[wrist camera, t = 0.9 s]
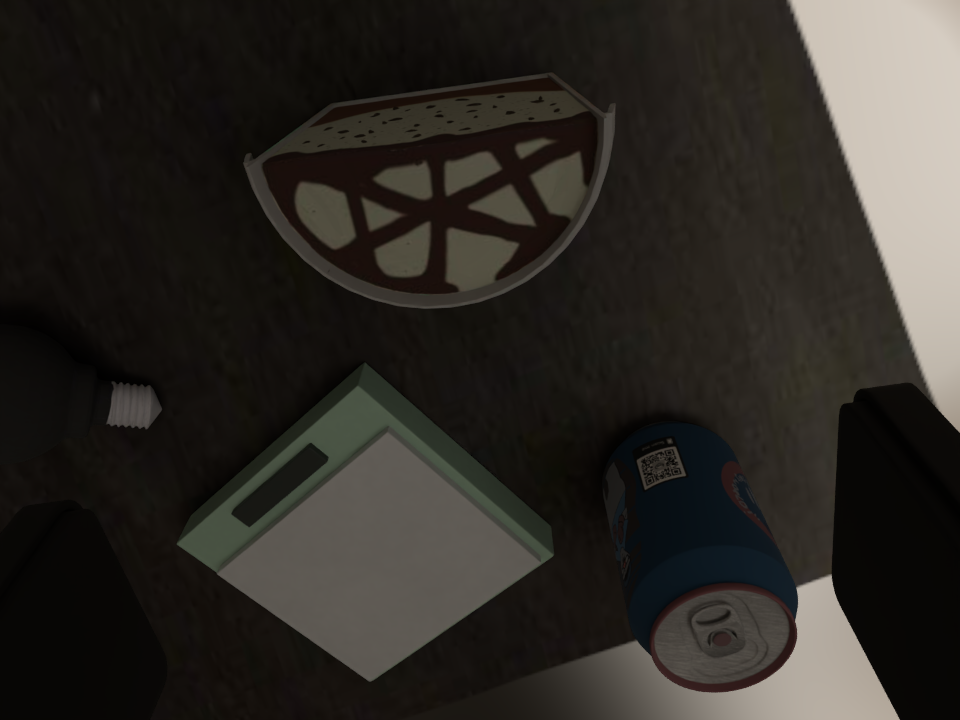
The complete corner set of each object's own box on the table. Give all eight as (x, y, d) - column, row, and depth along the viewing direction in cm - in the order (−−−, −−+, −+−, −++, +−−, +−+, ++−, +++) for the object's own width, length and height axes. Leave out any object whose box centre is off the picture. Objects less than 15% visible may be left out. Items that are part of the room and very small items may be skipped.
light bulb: (155, 497, 38) (-100, 485, 34) (148, 438, 44) (-72, 421, 39) (179, 372, 37) (-86, 343, 32) (168, 327, 42) (-60, 296, 38)
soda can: (747, 493, 43) (831, 675, 33) (624, 534, 45) (666, 721, 34) (710, 390, 40) (789, 554, 30) (579, 437, 42) (610, 609, 31)
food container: (328, 245, 37) (278, 343, 28) (296, 108, 34) (229, 169, 25) (598, 211, 36) (634, 301, 27) (588, 67, 33) (624, 115, 24)
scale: (190, 514, 44) (171, 552, 42) (364, 361, 40) (355, 392, 37) (376, 649, 49) (370, 690, 46) (551, 526, 45) (555, 563, 42)
